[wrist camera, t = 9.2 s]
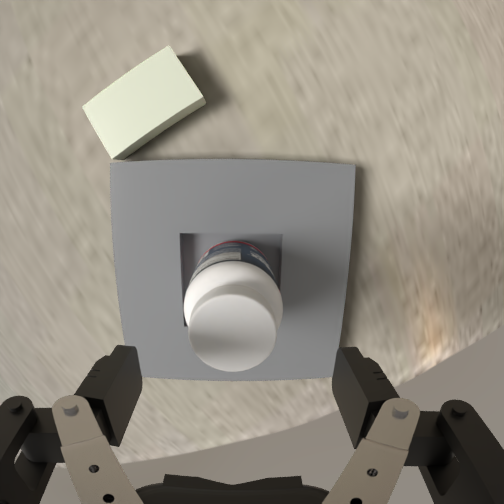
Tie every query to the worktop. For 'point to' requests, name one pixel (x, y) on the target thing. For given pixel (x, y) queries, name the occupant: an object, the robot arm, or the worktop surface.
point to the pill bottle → (233, 307)
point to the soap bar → (143, 104)
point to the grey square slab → (224, 229)
